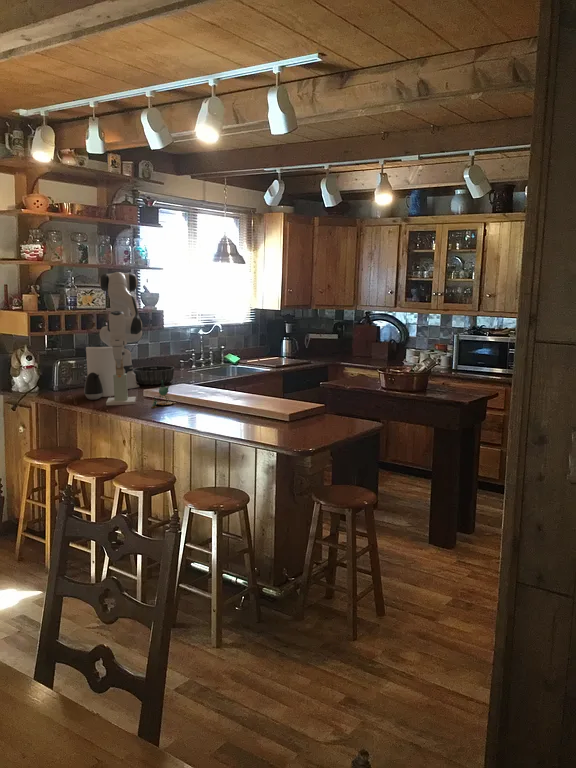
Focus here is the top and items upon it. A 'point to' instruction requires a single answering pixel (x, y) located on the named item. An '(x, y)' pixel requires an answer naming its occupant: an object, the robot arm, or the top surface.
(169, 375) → the bundt pan
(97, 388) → the dark grey egg shape
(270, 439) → the top surface
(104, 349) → the white tall block
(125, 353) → the robot arm
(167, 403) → the frog figurine
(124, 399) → the stand base
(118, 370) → the column
